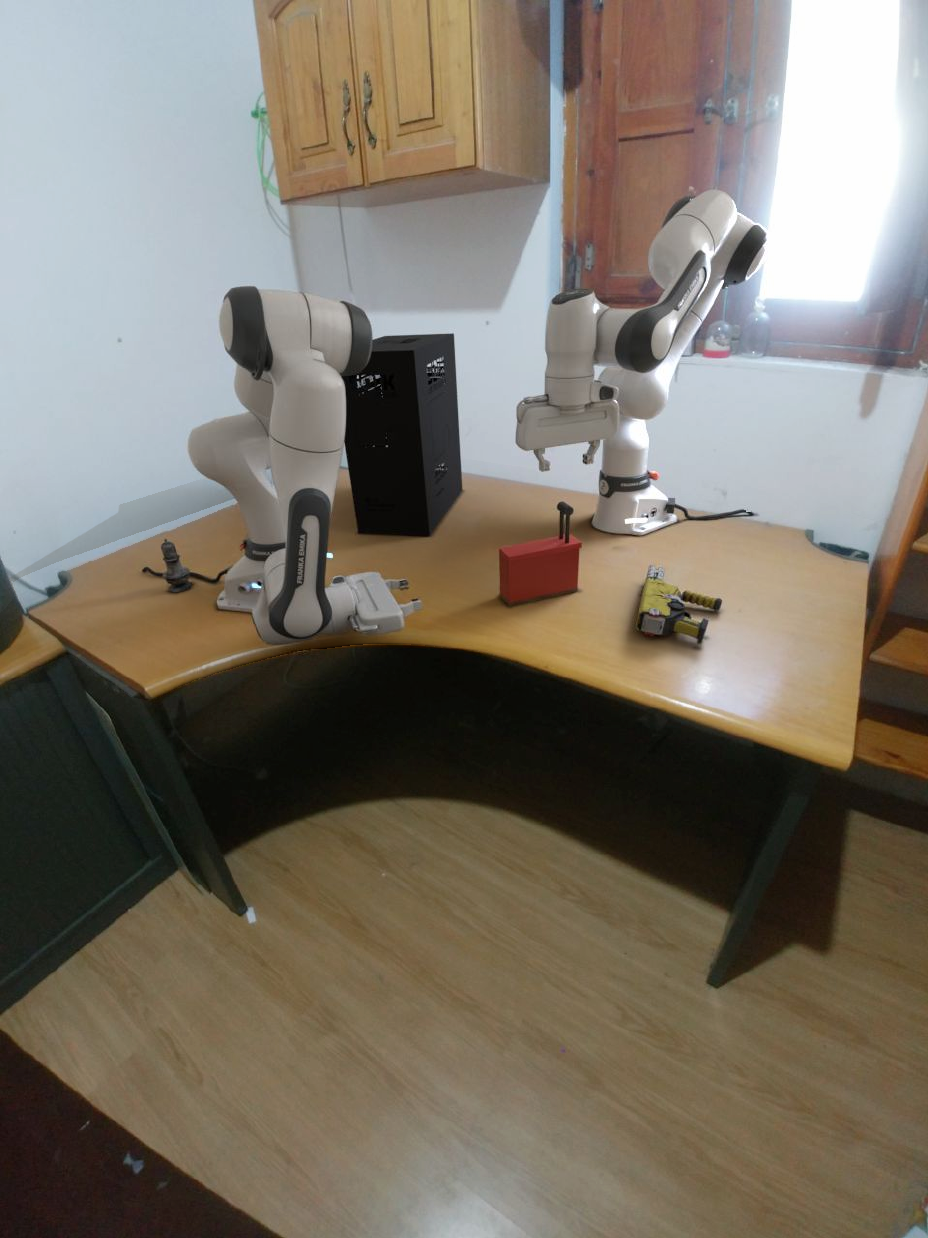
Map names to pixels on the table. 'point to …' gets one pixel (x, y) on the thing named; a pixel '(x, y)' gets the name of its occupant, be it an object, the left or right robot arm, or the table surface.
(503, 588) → the chest
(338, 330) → the left robot arm
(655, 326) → the right robot arm
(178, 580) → the salt shaker
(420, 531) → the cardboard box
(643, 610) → the toy gun
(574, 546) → the lid
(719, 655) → the table surface
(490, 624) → the table surface
